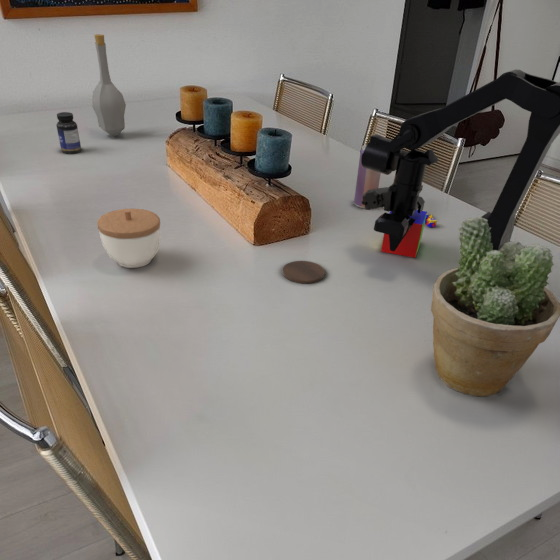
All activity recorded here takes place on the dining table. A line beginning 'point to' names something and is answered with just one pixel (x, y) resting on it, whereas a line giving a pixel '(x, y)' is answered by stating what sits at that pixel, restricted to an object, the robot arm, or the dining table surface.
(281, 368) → the dining table surface
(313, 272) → the coaster
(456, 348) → the potted plant
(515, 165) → the robot arm
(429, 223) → the building blocks
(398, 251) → the cube
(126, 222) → the lidded bowl
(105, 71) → the bottle
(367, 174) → the beverage can
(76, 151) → the pill bottle
